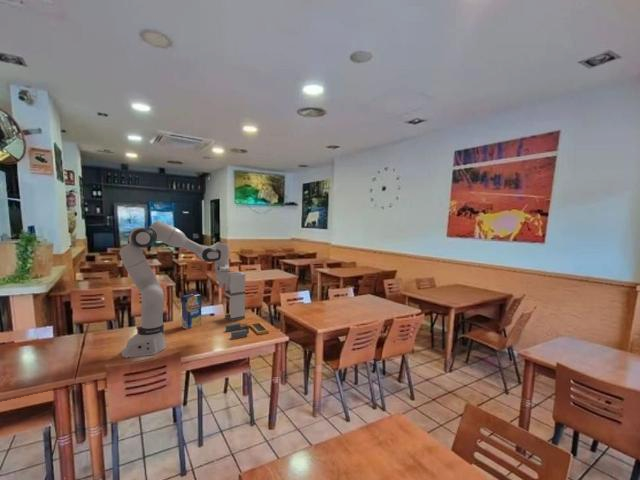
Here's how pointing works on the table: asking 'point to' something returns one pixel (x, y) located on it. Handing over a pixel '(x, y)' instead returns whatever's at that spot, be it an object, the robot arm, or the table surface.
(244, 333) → the grey parallel walls
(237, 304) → the grey toy tower
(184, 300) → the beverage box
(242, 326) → the walnut block
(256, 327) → the tray
